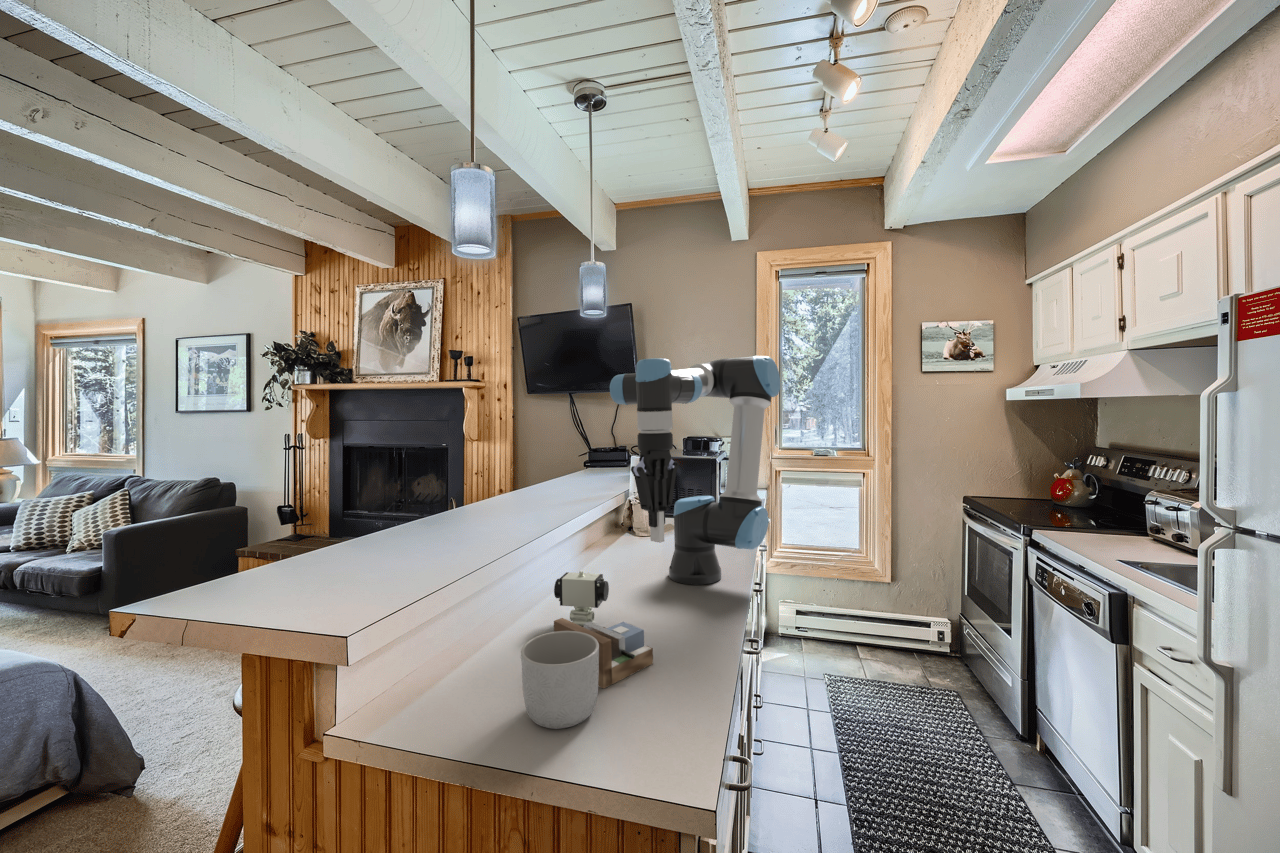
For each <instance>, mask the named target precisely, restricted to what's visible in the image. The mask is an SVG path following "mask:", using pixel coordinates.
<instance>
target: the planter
mask: <svg viewBox="0 0 1280 853" xmlns="http://www.w3.org/2000/svg"><path fill="white" fill-rule="evenodd" d="M520 663H521V665H520V666H521V678H522V691H523V692H522V694H523V702H524V705H525V706H524V707H525V710H526V711H525V712H526V713H527V715H528V717H529V719H530V720H531V721H532V722H534V723H535V724H537V725H538V726H540V727H542V728H543V727H544V728H546V729H555V730H558V729H566V728H571V727H574V726H577V725H578V724H581V723H583V722H584V721H585V720H586V719H587V718H589V717H590V716H591V714H592V713H593V711H594V710H595V707H596V704H597V702H598V701H597V700H598V695H599V694H598V692H599V686H598V679H599V643H598V641H597V640H596V639H595V638H594V637H593V636H591V635H589V634H586V633H582V632H577V631H557V632H554V631H551V632H547V633H543V634H540V635H537V636H535V637H533V638H531V639H529V640H527V642H526V643H524V644H523V646H522V647H521V649H520Z"/></svg>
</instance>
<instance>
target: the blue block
mask: <svg viewBox="0 0 1280 853" xmlns="http://www.w3.org/2000/svg"><path fill="white" fill-rule="evenodd" d="M605 628H606V629H608V630H611V631H613V632H615V633H618V634H620V635H622V636H624V637H625V651H627V652H629V653H631V652H633V651H635V650H637V649H639V648H641V647H643V646H645V630H644V629H643V628H640V627H638V626H636V625H633V624H630V623H627V622H625V621H622V622H619V623H616V624H615V625H611V626H609V627H605Z"/></svg>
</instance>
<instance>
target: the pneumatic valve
mask: <svg viewBox="0 0 1280 853" xmlns="http://www.w3.org/2000/svg"><path fill="white" fill-rule="evenodd" d="M609 586H610V585H609V582H608V581H607V580H605V578H604V574H603V573H589V572H587V573H585V572H584V570H580V571H579V572H567V571H566V572H565V573H564V574H563V575H562V576H561V577H559V578H556V581H555V583H554V587H553V595H554V597H555V599H558V602H559V606H560V607H561V606H563V607H573V608H574V609H571V610H570V612H569V621H570V622H573V623H575V624H577V625H579V626H582V627H584V623H587V622H589V621H590V622H592V623H594V620H595V611H594V610H593V608H595V609H597V608H599V607H600V606H601V604H602V603H603V602H607V600H608V598H609V590H610V588H609Z"/></svg>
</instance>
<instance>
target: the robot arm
mask: <svg viewBox="0 0 1280 853" xmlns="http://www.w3.org/2000/svg"><path fill="white" fill-rule="evenodd" d="M635 366H636V370H635V372H633V373H623V374H617V375H615V376H613V378H611V381H610V383H609V395H610V397H611V399H612V402H614V403H615V404H617V405H626V406H628V405H629V406H630V405H632V406H633V405H636V416H637V417H636V418H637V419H636V421H637V425H636V426H637V428H636V429H637V430H638V431H639V433H638V434H637V449H638V450H639V452H640V456H639V457H638V458H639V459H638V461H639V462H638V463H637V464H636V466H635V465H634V466H633V465H632V466H631V467H630V471H631V473H632V475H633V477H634V482H635V486H636V490H637V496H638V500H639V501H638V502H639V506H640V509H641V510H644V511H646V512H648V513H647V514H648V515H647V516H648V526H649V527H650V528H649V529H650V530H649V531H650V535H649V537H650V541H651V542H655V543H659V544H660V543H664V542H665V525H666V512H668V511H669V510H670V507H671V506H673V499H674V492H675V484H676V476H677V471H678V470H679V466H680V463H679V461H674V460H673V459H672V454H671V452H670V451H671V450H672V449H673V448H674V443H673V442H674V440H673V439H674V438H673V433H672V432H671V430H672V429H674V428H673V427H674V424H673V404H689V403H694V402H696V401H697V400H698V399H699V398H703V397H704V398H705V397H706V398H707V397H709V398H719V399H720V398H724V399H725V398H726V399H727V398H728V399H729V400H728V402H729V403H730V404H731V406H732V407H733V413H732V414H733V415H732V422H731V424H732V425H731V433H730V434H731V435H730V443H729V452H728V462H727V463H728V465H727V471H726V472H727V474H726V480H725V482H726V484H725V490H724V491H723V492H722V493H721V494H720V495H719V496H718V502H716V499H715V496H713V495H697V496H690V497H689V496H688V497H684V498H680V499H678V500H676V501H675V502H674V507H673V524H674V525H673V529H674V530H673V531H674V533H673V534H674V537H673V538H674V551H673V555H672V557H671V562H670V565H669V567H668V578H669V579H670V580H672V581H674V582H676V583H679V584H684V585H691V586H692V585H696V586H697V585H701V586H702V585H709V584H713V583H717V582H719V581H720V580H721V579H722V568H721V566H720V563H719V560H718V556H717V553H716V549H715V548H716V547H715V546H723V547H728V548H736V549H738V550H754V549H757V548H759V546H760V545H762V542H763V541H764V540H765V537H766V535H767V532H768V527H769V523H770V522H769V517H768V516H769V513H768V510H767V508H765V507H764V506H762V504H763V500H762V499H761V498H760V496H759V495H758V486H759V485H758V484H759V474H760V466H761V464H760V463H761V454H762V453H761V452H762V442H763V432H764V421H765V420H764V419H765V410H766V409H767V408H768V407H770V406H771V402H772V398H775V397H776V396H777V397H778V395H779V393H780V391H781V377H780V376H781V375H780V372H779V369H778V366H777V364H776V362H775V361H774V359H773V358H772V357H770V356H768V355H754V356H742V357H731V358H720V359H716V360H711V361H708V362H704V363H703V362H701V363H699V364H698V363H697V364H696V363H695V364H693V365H691V366H690V367H689V368H679V369H673V368H672V363H671V361H670V359H667V358H661V357H660V358H658V357H657V358H655V357H654V358H645V359H639V360H638V361H637V363H636V365H635Z"/></svg>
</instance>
